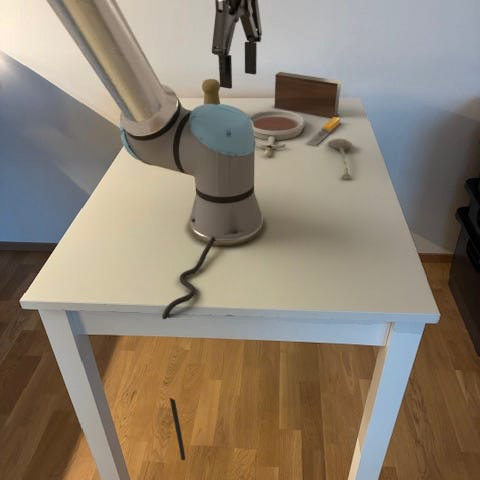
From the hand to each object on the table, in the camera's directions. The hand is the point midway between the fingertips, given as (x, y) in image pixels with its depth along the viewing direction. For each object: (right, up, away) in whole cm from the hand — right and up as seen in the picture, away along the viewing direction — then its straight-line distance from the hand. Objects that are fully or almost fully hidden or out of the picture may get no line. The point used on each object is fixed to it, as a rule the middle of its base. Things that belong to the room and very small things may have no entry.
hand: (238, 80), depth 111 cm
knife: (+25, -2, +27) cm, 36 cm away
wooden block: (+21, +10, +40) cm, 46 cm away
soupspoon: (+27, -14, +14) cm, 33 cm away
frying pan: (+10, -4, +26) cm, 28 cm away
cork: (-8, +6, +37) cm, 38 cm away
